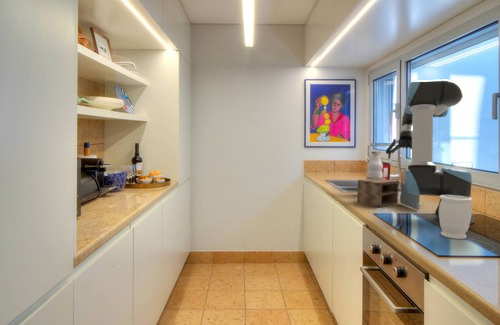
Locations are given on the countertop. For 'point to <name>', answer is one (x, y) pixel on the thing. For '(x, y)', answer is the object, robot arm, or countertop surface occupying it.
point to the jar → (455, 215)
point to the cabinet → (377, 192)
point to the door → (409, 198)
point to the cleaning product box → (385, 170)
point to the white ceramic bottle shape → (375, 166)
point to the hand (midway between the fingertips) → (402, 164)
